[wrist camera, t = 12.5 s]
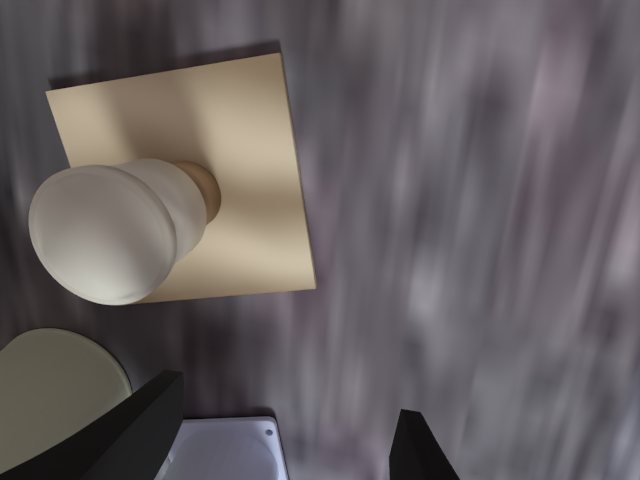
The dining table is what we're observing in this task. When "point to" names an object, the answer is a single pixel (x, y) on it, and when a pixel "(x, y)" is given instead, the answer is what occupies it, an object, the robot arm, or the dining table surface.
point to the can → (53, 391)
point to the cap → (116, 227)
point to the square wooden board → (208, 166)
